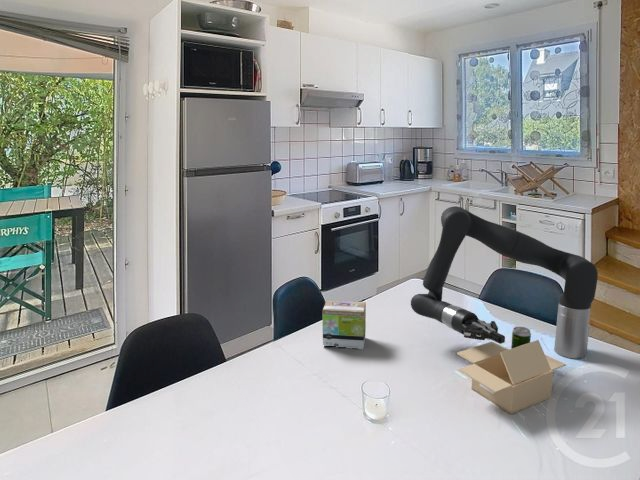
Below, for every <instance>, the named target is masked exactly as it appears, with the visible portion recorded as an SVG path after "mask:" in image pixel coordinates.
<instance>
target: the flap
mask: <svg viewBox="0 0 640 480" xmlns="http://www.w3.org/2000/svg"><path fill="white" fill-rule="evenodd" d="M500 354H501V357H502V359H503V362H504V364H505V367H506V369H507V372H508V374H509V377H510V379H511V382H512V385H514V384H516V383H519V382H521V381H524V380H527V379H529V378H532V377H534V376H537V375H539V374H542V373H544V372H547V371H550V370H551V368H550V366H549V363H548V361H547V359H546V356H545V355H546V354H545V352H544V349H543V347H542V345H541V343H540V341H539V339H536V340H533V341H530V343H527V344H524V345H521V346H518V347H515V348H512V349H511V348H510V349H508V350H506V351H503V352H500Z"/></svg>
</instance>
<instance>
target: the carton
mask: <svg viewBox="0 0 640 480" xmlns="http://www.w3.org/2000/svg"><path fill="white" fill-rule="evenodd" d="M506 350H509V349H508V348H507V347H504V346H502V345H501V344H499V343H497V342H495V341H489V342H486V343H483V344H480V345H479V344H478V345H477V346H473V347H470V348H467V349H464V350H460V351H457V352H456V355H457V356H459V357H462V358H463V359H465V360H467V361H468V362H470V363H472V364H469V365H466V366H463V367H460V368H458V371H459V372H461V373H462V374H464V375H465V376H467V377H468V378H470V379H471V390H472V391H474V392H475V393H477V394H478V395H480V396H481V397H483V398H485V399H487V400H488V401H489V402H491V403H492V404H494V405H496V406H498V407H499V408H501V409H502V410H504V411H506V412H507V413H508V414H510V415H514V414H515V413H518V412H520V411H523V410H525V409H528V408H530V407H532V406H534V405H537V404H539V403H542V402H543V401H545V400H548V399H550V398H552V391H553V390H552V389H553V382H554V371H556V370H558V369H560V368H563V367H565V366H566V365H567V364H566V363H564V362H562V361H560V360H558V359H555V358H553V357H551V356H549V355H546V354H545V356H546V359H547V361H548V363H549V366H550V368H551V370H550V371H547V372H544V373H542V374H539V375H537V376H534V377H532V378H529V379H527V380H524V381H521V382H519V383H516V384H514V385H512V382H511V379H510V377H509V374H508V372H507V369H506V367H505V364H504V362H503V359H502V357H501V354H500V352H503V351H506Z"/></svg>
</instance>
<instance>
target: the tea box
mask: <svg viewBox="0 0 640 480" xmlns="http://www.w3.org/2000/svg"><path fill="white" fill-rule="evenodd" d="M366 306H367V304H366V301H347V300H330V299H329V300H327V299H326V301H325V303H324V306H323V309H322V315H321V316H322V317H321V318H322V346H323V345H324V346H336V347H335V348H338V347H346V348H345V349H352V348H358V349H357V350H364V348H365V342H366V327H367V326H366V322H367V321H366V316H367V315H366V314H367V313H366Z"/></svg>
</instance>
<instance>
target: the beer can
mask: <svg viewBox="0 0 640 480" xmlns="http://www.w3.org/2000/svg"><path fill="white" fill-rule="evenodd" d="M512 329H513V330H512V332H511V333H512V334H511V346H510V347H511V348H510V349H512V348H515V347H518V346H521V345H524V344H527V343H530V342H531V337H532V332H531V330H530V328H527V327H525V326H515V327H513V328H512Z"/></svg>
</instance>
